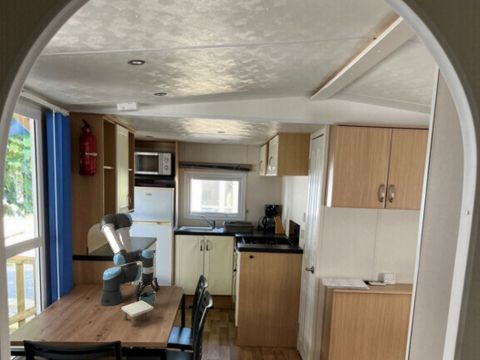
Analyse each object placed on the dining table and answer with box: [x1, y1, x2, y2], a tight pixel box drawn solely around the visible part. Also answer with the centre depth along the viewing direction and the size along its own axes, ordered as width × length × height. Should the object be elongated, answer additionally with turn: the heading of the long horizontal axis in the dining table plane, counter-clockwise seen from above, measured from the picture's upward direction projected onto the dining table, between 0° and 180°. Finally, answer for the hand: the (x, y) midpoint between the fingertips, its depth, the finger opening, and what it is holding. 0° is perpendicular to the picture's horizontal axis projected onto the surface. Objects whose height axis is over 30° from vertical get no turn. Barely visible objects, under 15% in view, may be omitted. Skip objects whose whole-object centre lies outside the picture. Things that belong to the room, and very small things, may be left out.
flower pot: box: [140, 291, 156, 307], centre depth 196 cm, size 9×9×9 cm
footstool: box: [121, 300, 154, 327], centre depth 179 cm, size 14×14×8 cm
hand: (146, 303), depth 196 cm, fingers closed on flower pot, 11 cm apart
